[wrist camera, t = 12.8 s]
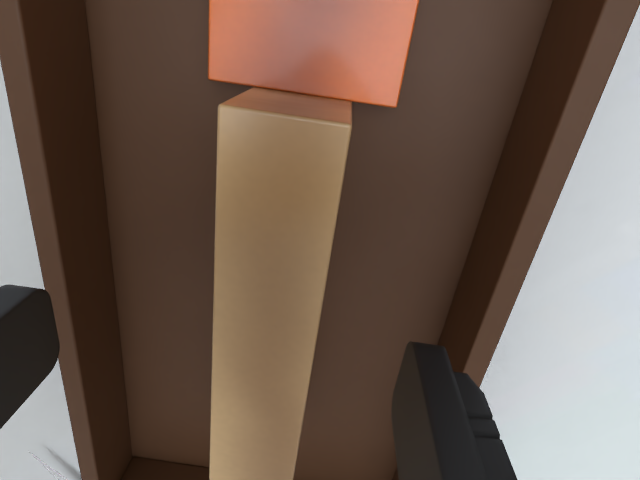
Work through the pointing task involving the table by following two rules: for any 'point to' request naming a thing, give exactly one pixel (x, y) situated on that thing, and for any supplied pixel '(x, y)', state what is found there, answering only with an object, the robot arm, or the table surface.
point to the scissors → (51, 470)
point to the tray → (351, 226)
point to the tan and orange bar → (283, 202)
